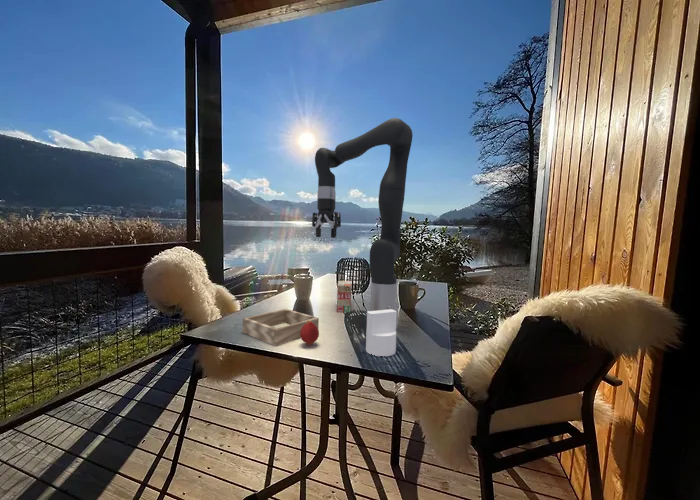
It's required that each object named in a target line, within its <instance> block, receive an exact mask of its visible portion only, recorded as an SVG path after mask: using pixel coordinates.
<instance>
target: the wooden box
mask: <svg viewBox="0 0 700 500" xmlns="http://www.w3.org/2000/svg"><path fill="white" fill-rule="evenodd" d="M319 319H320V318H319V317H317V316H313V315H310V314H306V313H303V312H298V311H295V310H291V309H288V308H282V309H277V310H273V311H270V312H265V313H261V314H256V315H252V316H248V317H243V318H242V333H243V334H246V335H247V336H250V337H253V338H254V339H258V340H260V341H262V342H265V343H267V344H270V345H272V346H274V347H278V346H281V345H285V344H286V343H289V342H293V341H296V340H299V339H301V337H300V331H301V329H302V327H303V326H304V325H305V324H306V323H307V321H308V320H310V321H311V322H312V323H314V324H315V325H316V326H317V328H318V329H319V323H320V322H319V321H320V320H319ZM285 323H286V324H287V325H284V326H280V327H274V326H277V325H281V324H285Z"/></svg>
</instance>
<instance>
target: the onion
mask: <svg viewBox="0 0 700 500" xmlns="http://www.w3.org/2000/svg"><path fill="white" fill-rule="evenodd" d="M300 337H301V338H300V339H301V341H302V342H304V343H305V344H306V345H307V346H311V345H313V344H314V343H315V342H316V341H317V340H318V338H319V337H320V330H319V327H318V328H317V326H316V325H315V324H314V323H312V322H311V321H310V320H308V321H307V323H306V324H305V325H304V326H303V327H302V329H301V331H300Z"/></svg>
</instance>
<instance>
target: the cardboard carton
mask: <svg viewBox="0 0 700 500" xmlns="http://www.w3.org/2000/svg"><path fill="white" fill-rule="evenodd" d="M336 287H337V288H336V289H337V292H336V293H337V294H336V299H337V300H336V313H352V312H351V311H352V280H338V281H337V286H336Z"/></svg>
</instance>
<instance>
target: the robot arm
mask: <svg viewBox="0 0 700 500" xmlns="http://www.w3.org/2000/svg"><path fill="white" fill-rule="evenodd" d="M413 136H414V135H413V130H412V128H411V127H410V125H408V124H407V123H406V122H405V121H403V119H400V118H398V117H392V118H390V119H387V120H385V121H383V122H381V123H380V124H379V125H377V126H375V127H373V128H371V129H370V130H368V131H366V132H365V133H363V134H361V135H359V136H356V137H355V138H354V137H353V138H352V139H348V140H347V141H344V142H342V143H339V144H337V145H336V147H335V148H334V150H332V149H328V148H326V147H320V148H318V149H317V151H316V152H315V154H314V155H315V156H314V164H315V168H316V174H317V178H318V182H317V184H318V185H317V194H316V195H317V196H316V197H317V199H316V200H317V201H316V202H317V204H316V205H317V206H316V209H317V210H318V212H312V221H311V226H312V227H314V228H315V237H316V238H321V237H322V226H323V225H324V224H328V225H330V227H331V228H330V238H332V239H334V238H335V239H336V237H337V229H338V228H341V226H342V220H341V219H342V217H341V212H338V211H335V210H336V200H337V199H336V196H337V195H336V175H335V174H334V173H333V172H332V171H331V169H334V168H337V167H340V166H341V165H342V164H344V163H345V162H348V161H350V160H351V161H352V160H355V159H357V158H360V157H361V156H363V155H364V154H365V153H366V152H367V151H369V150H371V149H372V148H375V147H378V146H383V145H387V146H389V150H390V151H389V152H390V153H389V161H388V166H387V168H386V170H385V172H384V174H383V176H382V178H381V181H380V184H379V191H378V192H379V193H378V210H379V211H378V212H379V215H380V216H379V217H380V221H381V228H380V237H379V239H377V240H376V241H374V242H373V243H371V246H370V249H369V274H370V280H371V281H370V282H371V284H370V285H371V286H370V311H377V310H388V309H393V310H395V311H396V330H397V329H398V318H399V317H398V316H399V315H398V314H399V313H398V312H399V304H398V303H397V282H398V281H397V279H398V278H397V275H396V274H395V262H396V261H397V259H398V258H399V256H400V252H401V224H402V218H403V217H402V216H403V210H404V208H403V207H404V203H405V193H406V182H407V181H406V180H407V173H408V171H407V170H408V162H409V157H410V152H411V147H412V142H413Z"/></svg>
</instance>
